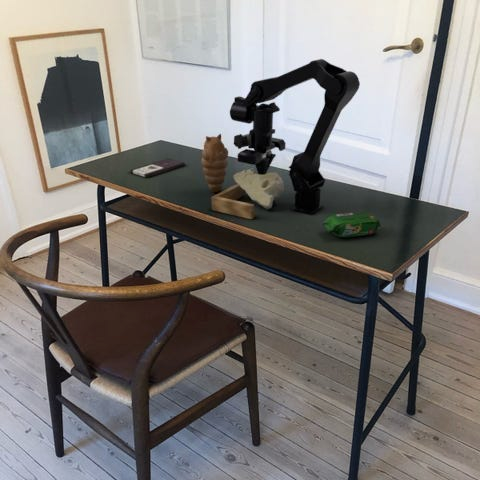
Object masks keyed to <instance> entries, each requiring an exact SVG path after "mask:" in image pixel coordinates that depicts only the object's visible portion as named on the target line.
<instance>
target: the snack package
mask: <svg viewBox="0 0 480 480" xmlns="http://www.w3.org/2000/svg"><path fill="white" fill-rule="evenodd" d="M322 226H323V227H324V228H326V230H327V231H326V233H327V234H330V233H332V234H333V235H334V236H336V237H338V238H355V237H363V236H369V235H370V236H371V235H373V234H375V233H376V232H377V231H378V230H379V229H381V222H380V220H379V218H378V217H377V216H375V215H374V214H373V213H371V212H368V211H358V212H349V213H338V214H337V213H336V214H332V215H330V216H329V217H327V218H326V219H325V220H324V221H323V222H322Z"/></svg>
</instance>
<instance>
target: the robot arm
mask: <svg viewBox="0 0 480 480" xmlns="http://www.w3.org/2000/svg"><path fill="white" fill-rule="evenodd" d="M311 80H314V81H315V82H316V83H317V84H318V85H319V87H320V88H322V89H323V90H325V91H324V96H323V97H324V98H323V99H324V100H323V101H324V105H323V108H322V110H321V113H320V115H319V116H318V119H317V121H316V123H315V125H314V127H313V131H312V133H311V134H310V137H309V140H308V142H307V144H306V147H305V149H304V150H303V152H300V153H298V154H295V155H294V156H293V158H292V161H291V164H290V166H288V169H289V172H288V176H289V178H290V181H291V185H292V188H293V192H295V193H294V207H293V209H292V210H293V211H296V212H300V213H305V214H308V215H313V214H315V213H316V212H318V211H319V210H321V209H322V207H323V206H322V205H321V204H320V203H321V190H322V189H321V188H322V187H324V185H325V183H326V179H325V177H324V176H323V174H322V173H321V171H320V167H321V156H322V154H323V151H324V149H325V147H326V145H327V142H328V140H329V138H330V136H331V135H332V132H333V130H334V127H335V125H336V123H337V121H338V119H339V118H340V115H341V113H342V111H343V110H344V108H346V107H347V105H348V104H349V103H350V102H351V101H352V100H353V98H354V96H356V94H357V93H358V90H359V89H360V85H361V83H360V79H359V77H358V75H357V74H356V73H355V72H354V71H348V70H346V69H344V68H342V67H339V66H337V65H335V64H332V63H331V62H329V61H327V60H326V59H323V58H319V59H314V60H311V61H310V62H308V63H307V64H304V65H302V66H299V67H297V68H295V69H292V70H291V71H287V72H286V73H283V74H281V75H279V76H274V77H269V78H264V79H260V80H256V81H253V82H251V85H250V90H249V91H248V93H247V94H246V97H243V96H240V95H239V96H236V97H234V101H233V102H232V104H231V106H230V109H229V116H230V119H231V120H232V121H234V122H240V123H244V124H248V125H249V124H252V129H250V130H249V132H248V133H246V134H242V133H239V134H236V135H234V136H233V145H234V147H236V148H237V149H238V150H240V149H242V148H245V149H243V150H241V151H239V152H238V153H237V162H238V163H243V164H248V165H252V166H255V168H256V171H257V174H260V175H265V174H267V172H268V170H269V169H270V167H271V164H272V162H273V161H274V159H275V157H276V153H273V151H272V150H273V149H275V148H276V149H278V151H279V152H282V151H284V150H286V142H285V140H284V139H282V138H276V137H273V135H274V134H276V129H274V128H273V126H274V114H275V113H277V112H280V111H281V109H280V107H279V106H278V105H277V104H276V102H275V101H273V100H275V99H276V98H277V97H279V96H281V95H282V94H283V93H284V92H285V91H287V90H289V89H291V88H294V87H296V86H298V85H301V84H303V83H306V82H308V81H311ZM269 101H273V102H270V103H269V104H268V103H265V102H269ZM257 104H259V105H257Z"/></svg>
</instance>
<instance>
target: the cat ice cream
mask: <svg viewBox="0 0 480 480" xmlns="http://www.w3.org/2000/svg"><path fill="white" fill-rule="evenodd" d="M228 157H229V150H228V148H227V147H225V144H224V143H223V141H222V133H219V134H218V135H217V136H207V135H206V136H205V141H204V143H203V149H202V151H201V161H200V163H201V164H200V165H201V166H202V173H203V174H204V179H205V181H206V183H207V185H208V189H209V190H210V192H211V193H218V192H221V190H222V188H223V184H224V182H225V177H226V175H227V167H228V164H229V163H228Z"/></svg>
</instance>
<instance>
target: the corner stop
mask: <svg viewBox="0 0 480 480" xmlns="http://www.w3.org/2000/svg"><path fill="white" fill-rule="evenodd" d="M242 197H243V189H242V188H241V187H240V186H239V185H238V183H236V184H234V185H232V186H230V187H228V188H226V189H224V190H222V191H219V193H218V192H217V194H215V195H213V196H211V197H210V198H211V199H210V200H211V211H214V212H218V213H222V214H228V215H231V216H235V217H239V218H244V219H248V220H253V219H254V218H255V204H253V203H248V202H244V201H239V199H240V198H242Z"/></svg>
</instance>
